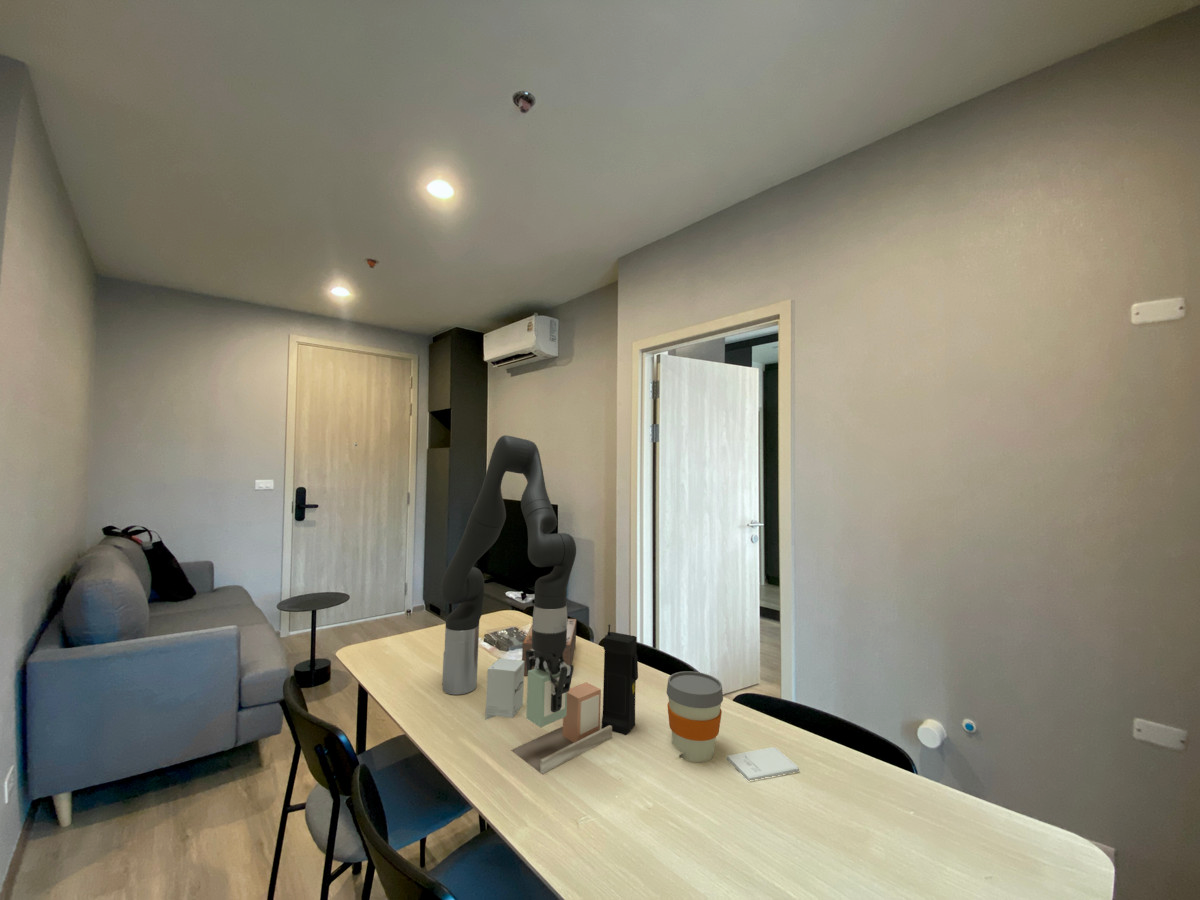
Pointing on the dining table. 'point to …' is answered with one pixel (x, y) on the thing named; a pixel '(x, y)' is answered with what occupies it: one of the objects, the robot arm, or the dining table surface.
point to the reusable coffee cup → (694, 713)
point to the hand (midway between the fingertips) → (547, 705)
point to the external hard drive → (762, 763)
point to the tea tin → (542, 699)
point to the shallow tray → (558, 748)
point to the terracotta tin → (582, 712)
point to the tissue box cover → (567, 653)
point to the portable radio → (619, 682)
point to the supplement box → (504, 688)
